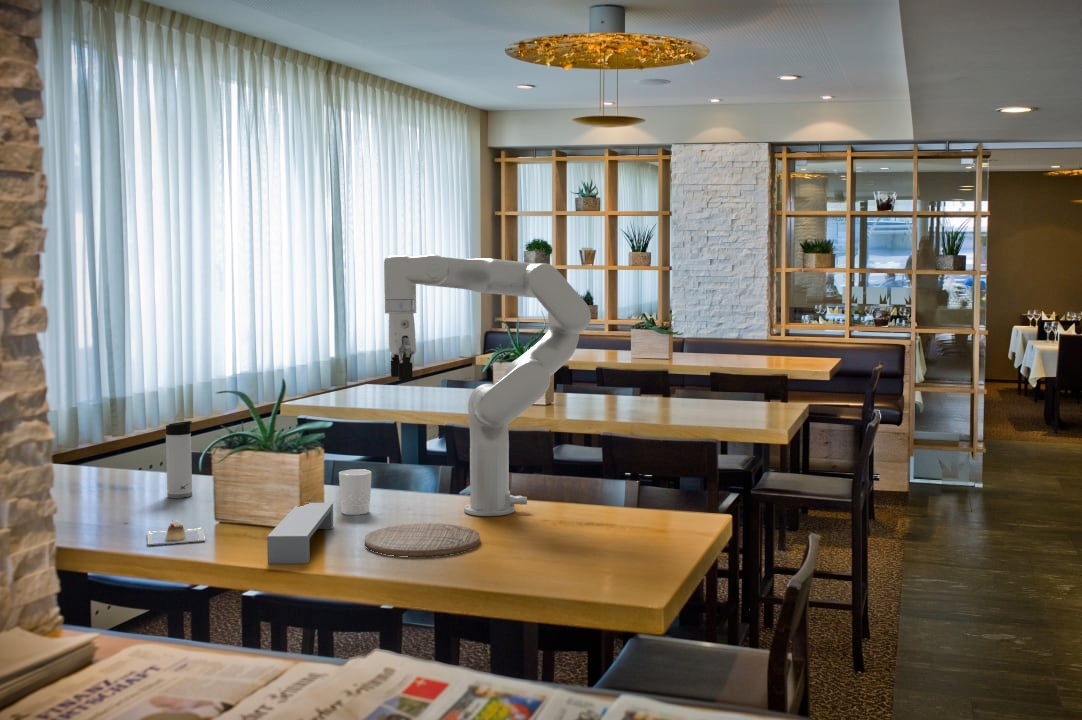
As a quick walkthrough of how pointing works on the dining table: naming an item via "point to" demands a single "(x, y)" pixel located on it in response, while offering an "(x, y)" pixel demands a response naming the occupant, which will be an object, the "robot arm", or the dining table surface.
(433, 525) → the trivet
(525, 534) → the dining table surface
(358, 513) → the white cup
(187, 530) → the dessert
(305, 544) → the bridge
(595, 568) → the dining table surface
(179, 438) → the travel mug
